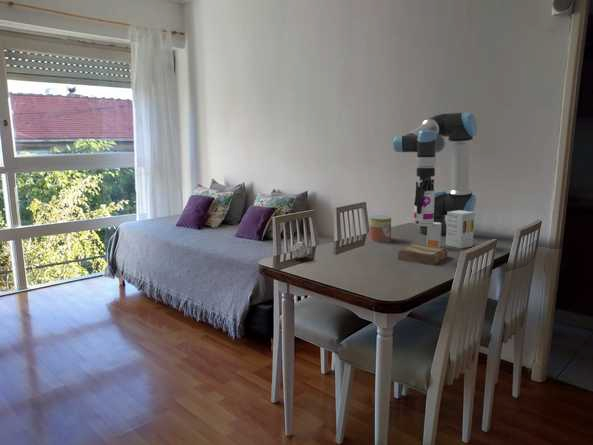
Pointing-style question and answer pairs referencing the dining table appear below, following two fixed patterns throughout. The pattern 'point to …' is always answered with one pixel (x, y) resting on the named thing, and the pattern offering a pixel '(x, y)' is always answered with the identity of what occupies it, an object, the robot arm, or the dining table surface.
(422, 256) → the tray
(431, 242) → the skincare box
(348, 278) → the dining table surface
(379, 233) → the canned food
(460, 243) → the supplement box
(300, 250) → the game die
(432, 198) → the supplement can
